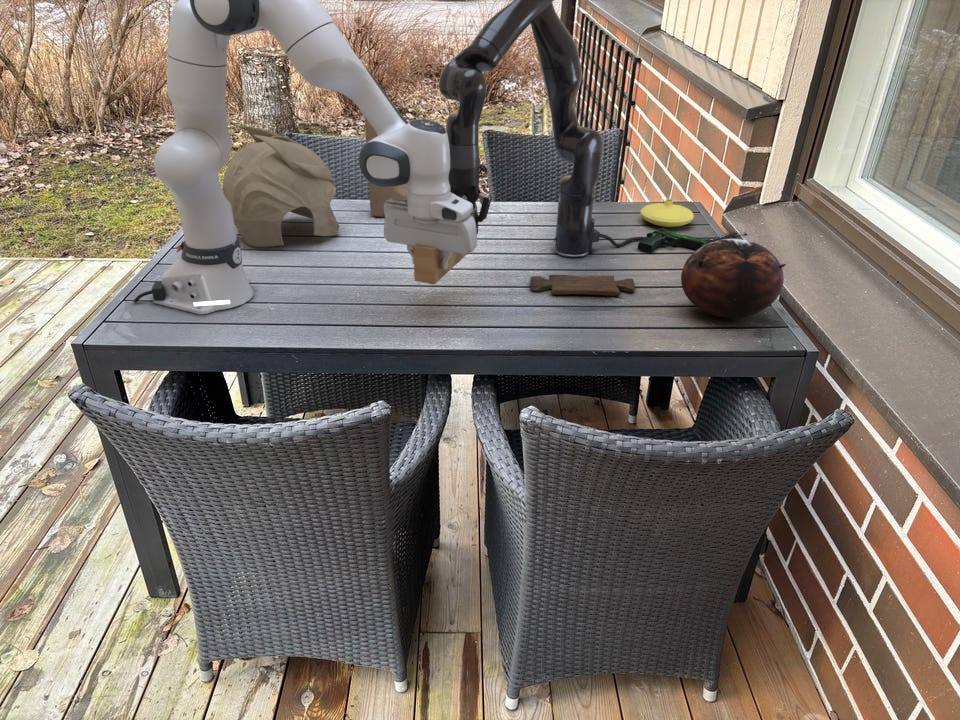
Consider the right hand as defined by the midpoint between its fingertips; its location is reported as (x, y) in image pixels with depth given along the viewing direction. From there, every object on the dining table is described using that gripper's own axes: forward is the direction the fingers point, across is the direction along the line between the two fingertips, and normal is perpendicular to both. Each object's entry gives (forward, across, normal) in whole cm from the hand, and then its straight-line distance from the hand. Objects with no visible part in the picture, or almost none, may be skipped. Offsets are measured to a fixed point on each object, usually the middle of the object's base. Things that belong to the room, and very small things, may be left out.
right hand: (462, 235), depth 167 cm
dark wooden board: (+14, +27, +12) cm, 33 cm away
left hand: (+1, 0, -18) cm, 18 cm away
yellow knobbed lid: (+14, +39, +68) cm, 79 cm away
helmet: (+14, -60, +14) cm, 63 cm away
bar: (+3, 0, -9) cm, 10 cm away
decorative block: (+14, -39, +42) cm, 59 cm away
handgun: (+14, +43, +48) cm, 66 cm away
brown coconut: (+14, +61, +12) cm, 63 cm away
